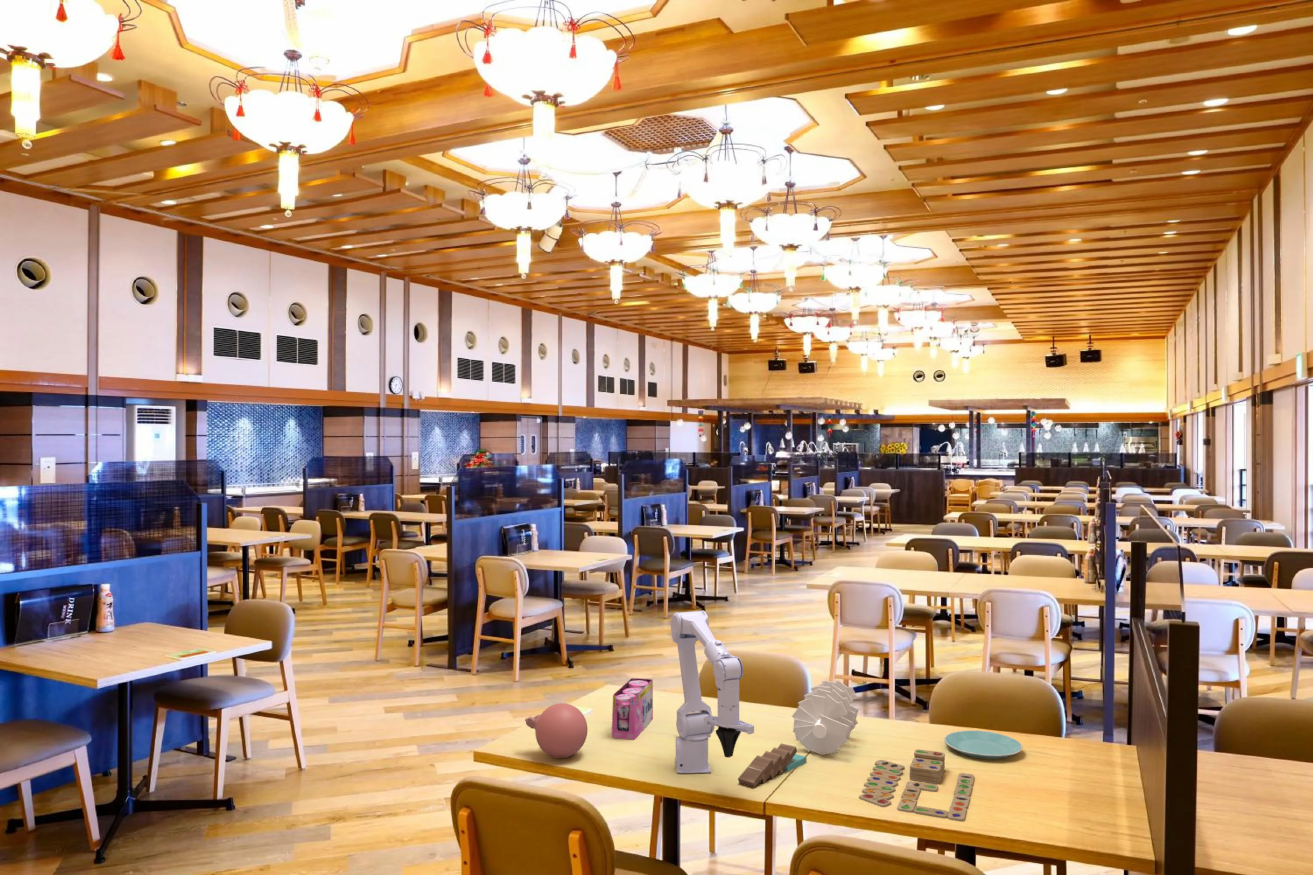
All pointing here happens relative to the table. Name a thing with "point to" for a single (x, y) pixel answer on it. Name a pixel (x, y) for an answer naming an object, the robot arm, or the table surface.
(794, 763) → the teal domino
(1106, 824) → the table surface
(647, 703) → the gum box
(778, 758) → the walnut domino
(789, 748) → the walnut domino
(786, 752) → the walnut domino
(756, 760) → the walnut domino
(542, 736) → the pink water balloon
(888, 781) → the pile of dominoes
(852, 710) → the spiral staircase
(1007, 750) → the plate
